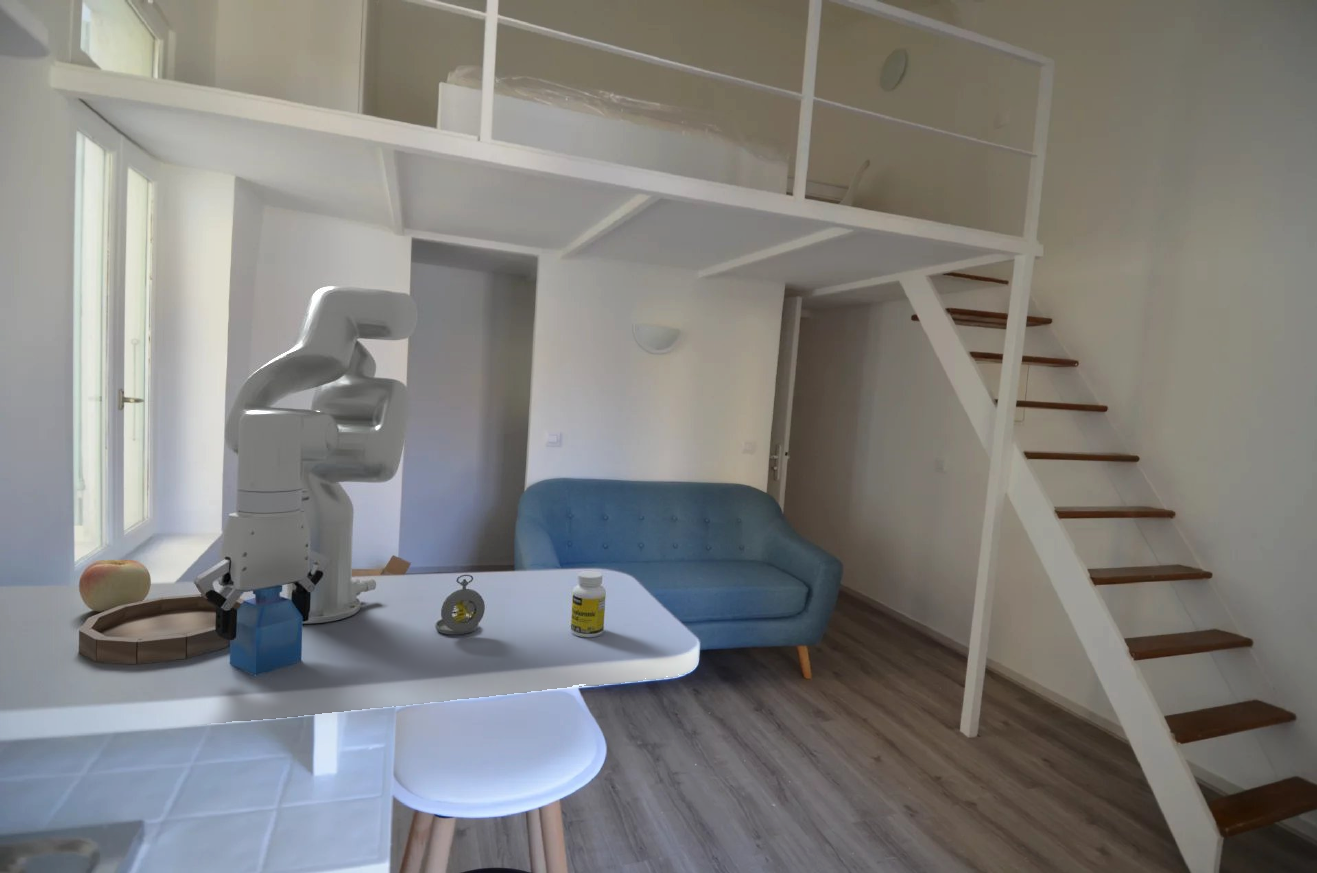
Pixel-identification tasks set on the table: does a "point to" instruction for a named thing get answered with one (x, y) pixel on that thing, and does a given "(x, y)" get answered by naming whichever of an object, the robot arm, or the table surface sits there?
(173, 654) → the walnut tray
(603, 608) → the supplement bottle
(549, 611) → the table surface
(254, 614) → the perfume bottle
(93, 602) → the apple
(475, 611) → the pocket watch
